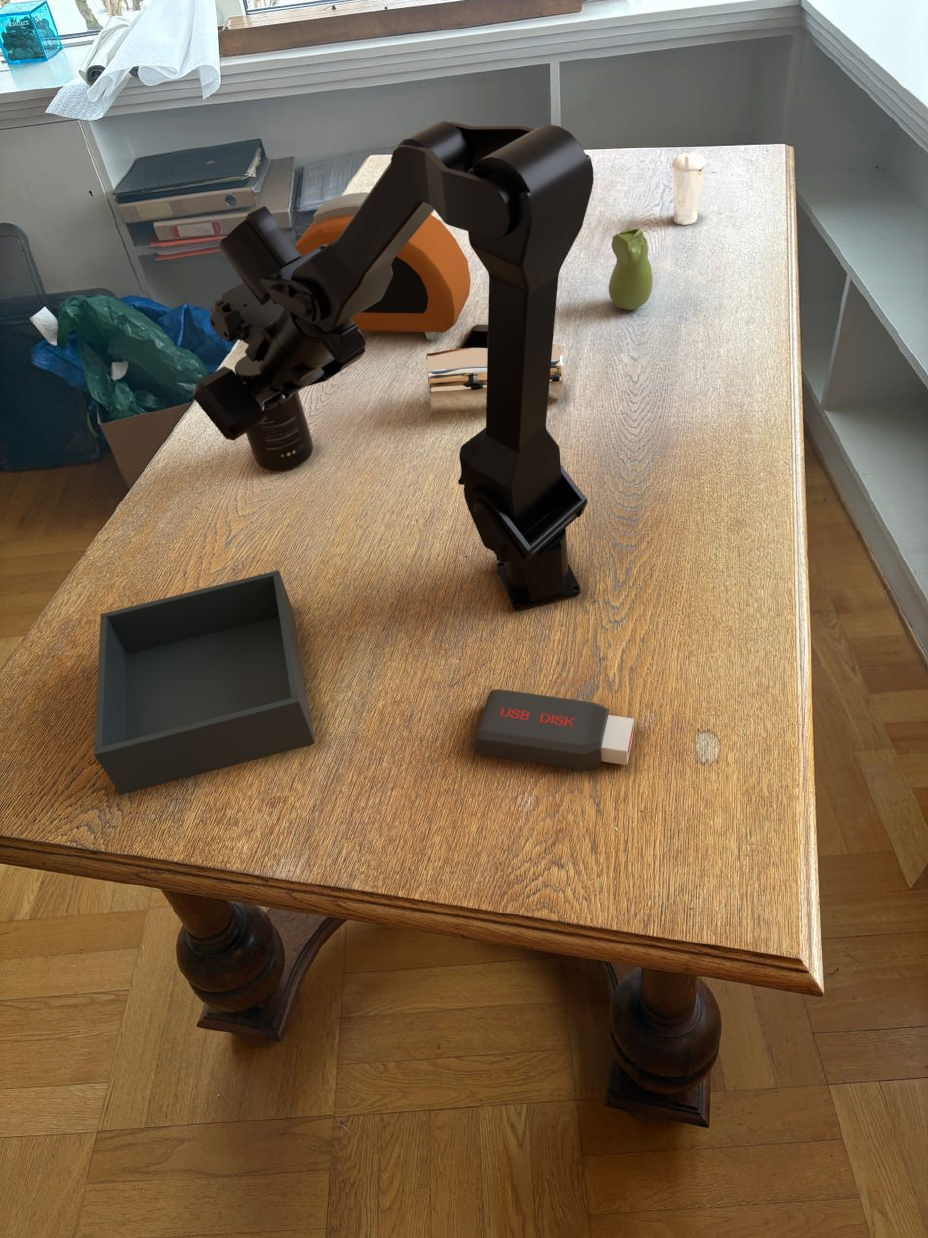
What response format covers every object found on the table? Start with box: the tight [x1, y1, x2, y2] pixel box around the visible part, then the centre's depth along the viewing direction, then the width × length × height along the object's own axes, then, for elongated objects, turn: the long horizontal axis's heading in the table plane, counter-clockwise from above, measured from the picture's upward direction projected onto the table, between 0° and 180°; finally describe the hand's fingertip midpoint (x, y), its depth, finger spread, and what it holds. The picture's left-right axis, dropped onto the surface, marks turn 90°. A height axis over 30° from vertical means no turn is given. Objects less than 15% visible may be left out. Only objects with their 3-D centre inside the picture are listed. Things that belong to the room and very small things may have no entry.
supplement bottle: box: [233, 354, 314, 473], centre depth 104 cm, size 7×7×12 cm
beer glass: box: [426, 343, 564, 413], centre depth 108 cm, size 7×7×15 cm
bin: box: [93, 569, 316, 795], centre depth 81 cm, size 16×16×6 cm
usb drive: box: [473, 688, 635, 771], centre depth 75 cm, size 5×12×3 cm, turn 74°
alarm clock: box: [293, 191, 472, 341], centre depth 121 cm, size 23×9×17 cm, turn 76°
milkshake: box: [671, 151, 706, 226], centre depth 134 cm, size 4×5×10 cm
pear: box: [608, 227, 654, 311], centre depth 119 cm, size 6×5×10 cm
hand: (261, 402), depth 104 cm, fingers closed on supplement bottle, 7 cm apart
